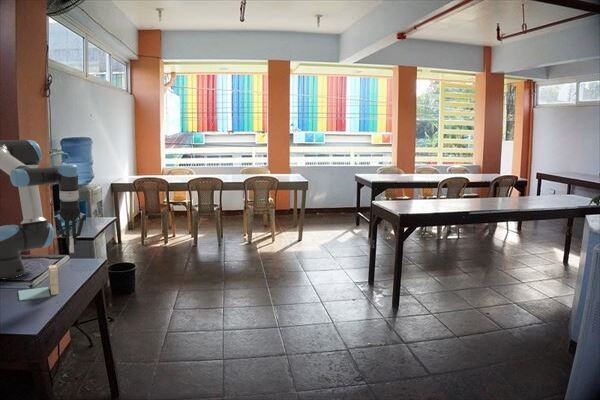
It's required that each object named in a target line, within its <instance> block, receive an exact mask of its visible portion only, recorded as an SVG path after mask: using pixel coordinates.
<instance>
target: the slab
mask: <svg viewBox="0 0 600 400" xmlns="http://www.w3.org/2000/svg"><path fill="white" fill-rule="evenodd" d="M47 269H48V284H49V285H48V289H49V293H50V296H53V295H54V296H55V295H59V294H60V279H59V277H60V276H59V269H58V266H57V264H51V265H50V264H49V265H48V267H47Z"/></svg>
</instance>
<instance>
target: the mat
mask: <svg viewBox="0 0 600 400" xmlns="http://www.w3.org/2000/svg"><path fill="white" fill-rule="evenodd" d="M49 297H51V292H50V289H49V286H45V287H44V286H43V287H37V288H30V289H28V288H27V289H21V290H18V301H19V302H21V301H28V300H36V299H42V298H49Z"/></svg>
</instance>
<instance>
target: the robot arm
mask: <svg viewBox="0 0 600 400" xmlns="http://www.w3.org/2000/svg"><path fill="white" fill-rule="evenodd" d="M42 157H43V154H42V149H41V147H40V145H39V144H38V143H37V142H36V141H35V140H32V139H31V140H30V139H29V140H28V139H9V140H8V139H6V140H5V139H4V140H3V139H2V140H0V170H1V171H3V172H4V173H5V174H7V175H8V176H9V179H10V183H11V185H12V186H13V187H16V188H17V187H18V192H19V200H20V205H21V212H22V213H21V214H22V217H23V220H22V221H21V222H20V226H19V225H17V224H6V225H1V226H0V279H3V278H12V277H16V276H19V275H21V274H24V273H25V272H26V271H27V270H26V267H25V264H24V261H23V259H22V257H21V252H24V251H30V250H36V249H43V248H46V247H49V246H51V245H52V243H53V241H54V237H55V235H54V234H55V231H54V227H53V225H52V223H50V222H48V219H46V218H45V217H44V215H43V208H42V207H43V206H42V202H41V200H42V199H41V194H40V189H39V186H48V185H58V190H59V200H60V201H59V207H60V209H59V213H58V214H57V215H54V216H53V218H54V220H55V222H56V224H57V227H58V230H59V232H60V236H61V238H64V239H65V240H66V246H68V247H69V253H70V254H74V253H75V248H74V247H75V246H76V245H77V237H80V236H81V234H82V230H83V225H84V220H85V219H86V217H87V215H86V214H85V213H82V212H81V210H80V200H79V199H80V196H79V195H80V194H79V171H78V166H77V165H76V164H72V163H64V164H59V165H51V166H47V167H39V164H40V163H41V162H42V159H43V158H42ZM61 218H62V219H63V220H64V224H65V232H64V228H63V225H62V223H61ZM78 218H79V221H78V226H77V227H76V221H77V219H78ZM70 222H71V236H70ZM76 229H77V230H76ZM25 274H26V273H25ZM25 274H24V275H25Z"/></svg>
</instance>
